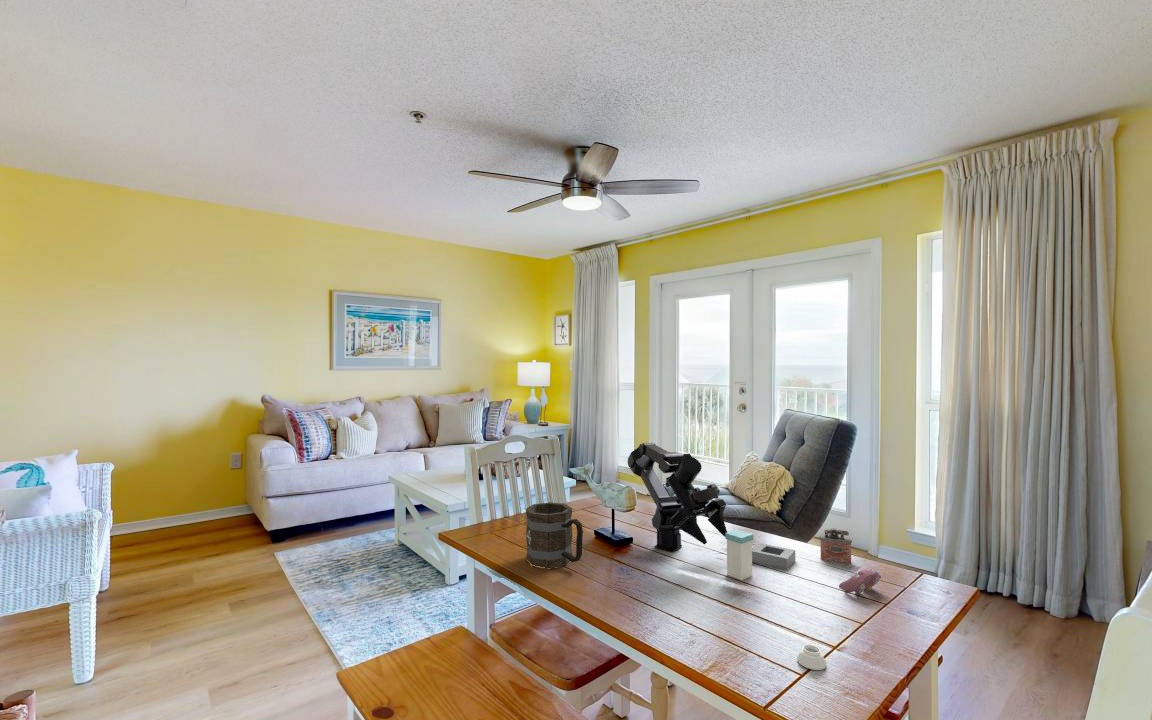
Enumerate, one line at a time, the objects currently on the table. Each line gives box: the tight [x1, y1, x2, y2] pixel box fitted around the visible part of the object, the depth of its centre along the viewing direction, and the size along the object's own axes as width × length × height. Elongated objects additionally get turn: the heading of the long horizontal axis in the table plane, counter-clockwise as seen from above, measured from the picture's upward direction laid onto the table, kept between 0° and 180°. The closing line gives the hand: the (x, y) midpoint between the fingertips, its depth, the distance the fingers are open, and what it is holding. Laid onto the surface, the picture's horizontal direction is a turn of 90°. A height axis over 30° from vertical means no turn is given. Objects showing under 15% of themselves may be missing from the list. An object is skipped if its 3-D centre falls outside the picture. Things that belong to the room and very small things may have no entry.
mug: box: [525, 501, 584, 569], centre depth 149 cm, size 20×14×15 cm
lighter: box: [819, 527, 853, 565], centre depth 147 cm, size 8×3×10 cm, turn 68°
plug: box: [724, 528, 754, 581], centre depth 137 cm, size 5×5×12 cm
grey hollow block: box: [752, 542, 796, 571], centre depth 146 cm, size 10×8×4 cm
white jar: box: [796, 644, 827, 671], centre depth 99 cm, size 5×3×5 cm
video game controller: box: [838, 568, 882, 595], centre depth 129 cm, size 10×5×7 cm, turn 119°
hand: (716, 539), depth 143 cm, fingers open, 9 cm apart
